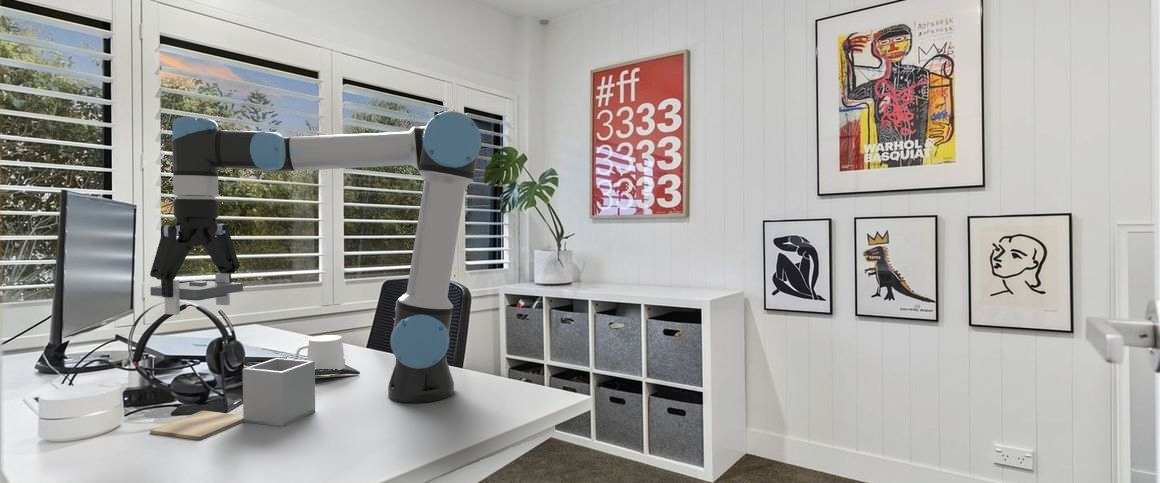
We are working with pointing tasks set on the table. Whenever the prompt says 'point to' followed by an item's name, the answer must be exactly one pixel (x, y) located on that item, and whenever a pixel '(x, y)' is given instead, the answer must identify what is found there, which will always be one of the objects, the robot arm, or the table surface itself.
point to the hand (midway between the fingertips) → (198, 309)
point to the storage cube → (278, 391)
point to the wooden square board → (199, 425)
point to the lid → (202, 290)
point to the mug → (325, 352)
